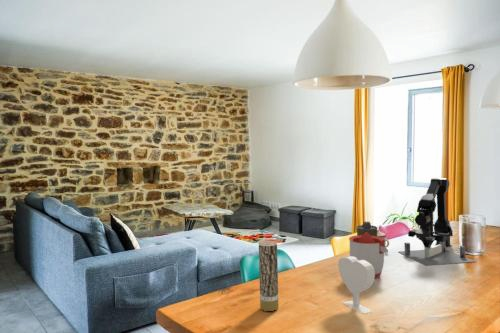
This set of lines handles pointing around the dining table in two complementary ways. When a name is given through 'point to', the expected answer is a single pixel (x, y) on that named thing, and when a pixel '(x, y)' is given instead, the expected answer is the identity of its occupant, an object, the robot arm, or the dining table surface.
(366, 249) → the citrus juicer
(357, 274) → the heart sculpture
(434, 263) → the mat
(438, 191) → the robot arm
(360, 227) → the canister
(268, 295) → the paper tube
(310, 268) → the dining table surface
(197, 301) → the dining table surface
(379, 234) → the teacup with lid
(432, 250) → the cream rectangular bar
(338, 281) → the dining table surface
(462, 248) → the posts
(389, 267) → the dining table surface
